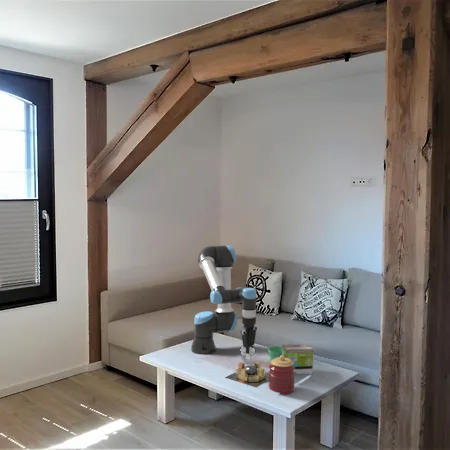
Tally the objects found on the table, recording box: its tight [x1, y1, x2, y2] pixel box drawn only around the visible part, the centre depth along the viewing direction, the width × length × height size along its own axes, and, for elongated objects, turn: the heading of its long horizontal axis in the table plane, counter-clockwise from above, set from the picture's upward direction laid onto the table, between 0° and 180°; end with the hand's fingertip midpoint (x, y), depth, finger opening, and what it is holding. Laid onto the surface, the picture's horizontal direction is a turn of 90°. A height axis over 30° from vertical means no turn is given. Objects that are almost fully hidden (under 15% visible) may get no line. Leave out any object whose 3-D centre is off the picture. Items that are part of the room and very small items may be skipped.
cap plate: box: [224, 364, 269, 388], centre depth 259 cm, size 20×20×6 cm
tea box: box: [281, 343, 314, 376], centre depth 268 cm, size 15×10×15 cm
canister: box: [268, 355, 296, 395], centre depth 245 cm, size 13×13×18 cm
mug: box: [268, 345, 282, 362], centre depth 279 cm, size 15×10×10 cm
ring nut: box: [235, 361, 268, 382], centre depth 259 cm, size 16×16×5 cm
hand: (248, 358), depth 268 cm, fingers closed
